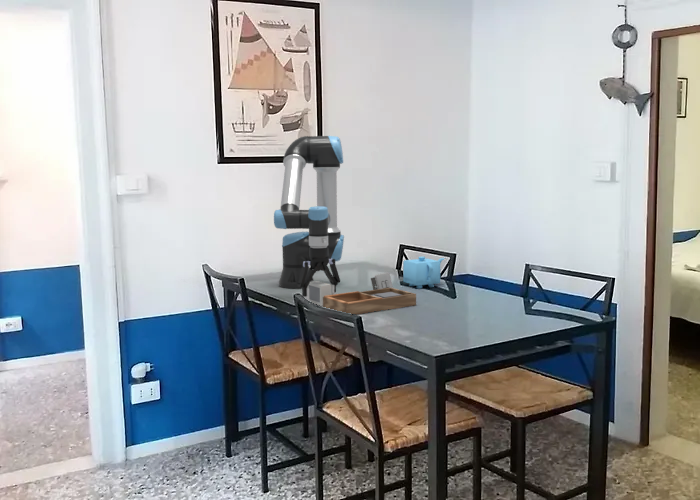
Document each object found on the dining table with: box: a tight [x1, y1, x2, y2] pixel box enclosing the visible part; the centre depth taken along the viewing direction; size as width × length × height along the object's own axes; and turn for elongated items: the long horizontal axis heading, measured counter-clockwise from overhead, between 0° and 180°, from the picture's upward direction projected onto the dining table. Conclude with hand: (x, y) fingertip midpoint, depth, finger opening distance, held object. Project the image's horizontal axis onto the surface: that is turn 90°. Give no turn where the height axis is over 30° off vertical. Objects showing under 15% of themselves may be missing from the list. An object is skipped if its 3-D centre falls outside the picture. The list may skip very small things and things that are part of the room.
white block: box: [307, 280, 331, 307], centre depth 296 cm, size 10×5×8 cm, turn 34°
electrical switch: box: [370, 271, 394, 290], centre depth 311 cm, size 9×5×9 cm, turn 141°
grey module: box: [372, 292, 401, 298], centre depth 292 cm, size 9×10×4 cm
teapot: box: [402, 255, 446, 289], centre depth 331 cm, size 18×16×13 cm
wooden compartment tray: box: [322, 287, 417, 316], centre depth 289 cm, size 16×32×5 cm, turn 124°
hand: (319, 302), depth 296 cm, fingers open, 11 cm apart
